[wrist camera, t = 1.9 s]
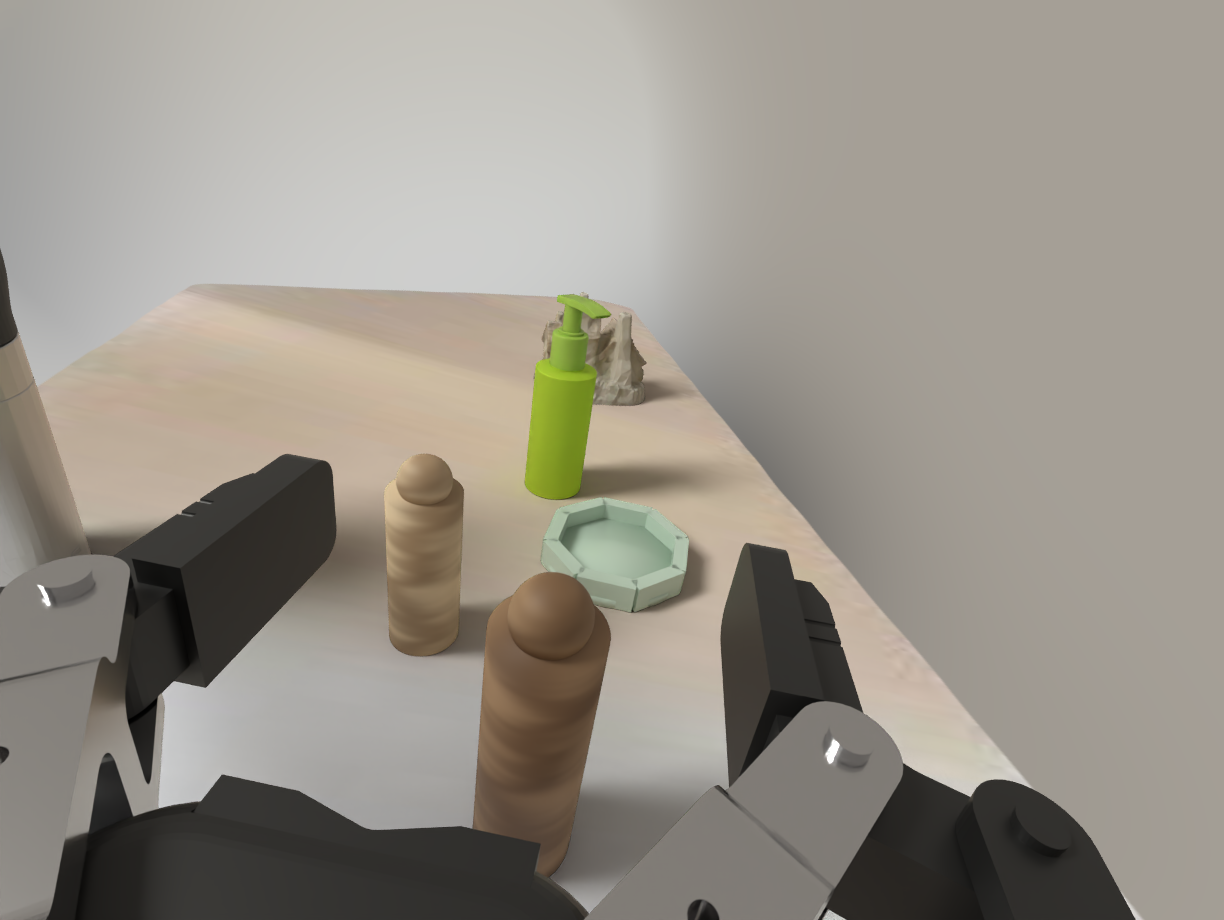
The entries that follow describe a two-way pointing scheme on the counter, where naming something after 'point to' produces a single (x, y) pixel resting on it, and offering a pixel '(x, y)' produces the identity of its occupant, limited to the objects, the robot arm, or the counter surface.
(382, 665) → the counter surface
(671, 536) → the dish
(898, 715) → the counter surface
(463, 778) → the counter surface
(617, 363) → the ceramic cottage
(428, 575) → the salt mill
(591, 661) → the pepper mill
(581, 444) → the soap dispenser
